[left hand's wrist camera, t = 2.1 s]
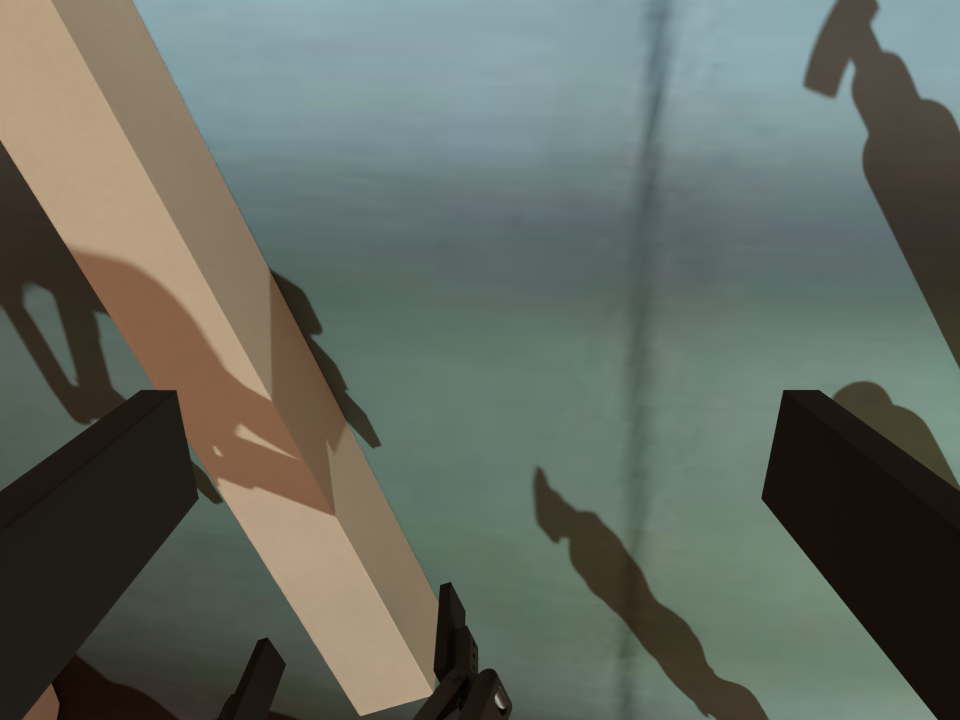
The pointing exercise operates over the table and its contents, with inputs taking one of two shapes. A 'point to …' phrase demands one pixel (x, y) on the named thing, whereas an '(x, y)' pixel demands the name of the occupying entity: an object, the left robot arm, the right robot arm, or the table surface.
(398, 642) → the post
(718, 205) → the table surface
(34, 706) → the container
